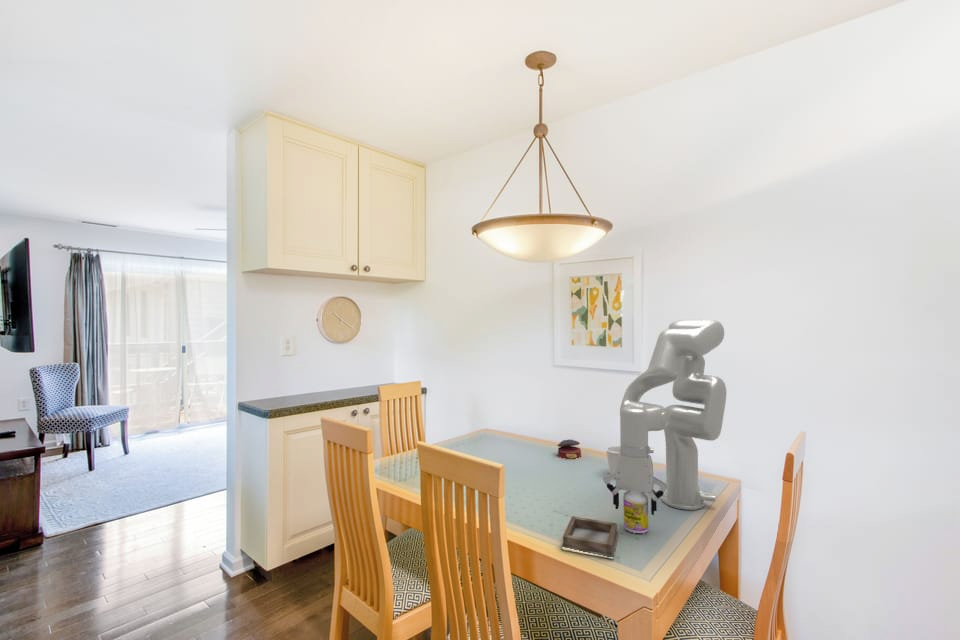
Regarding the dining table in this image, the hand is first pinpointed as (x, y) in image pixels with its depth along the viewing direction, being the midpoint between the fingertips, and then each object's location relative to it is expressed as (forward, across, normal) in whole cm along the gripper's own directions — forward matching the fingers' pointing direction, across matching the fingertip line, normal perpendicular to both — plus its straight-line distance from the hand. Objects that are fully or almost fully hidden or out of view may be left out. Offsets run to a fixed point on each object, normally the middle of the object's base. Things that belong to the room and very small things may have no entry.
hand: (634, 510), depth 125 cm
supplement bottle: (+6, 0, -1) cm, 6 cm away
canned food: (+5, +31, -60) cm, 67 cm away
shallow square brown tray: (+6, +11, +11) cm, 17 cm away
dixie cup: (+5, +9, -43) cm, 44 cm away
